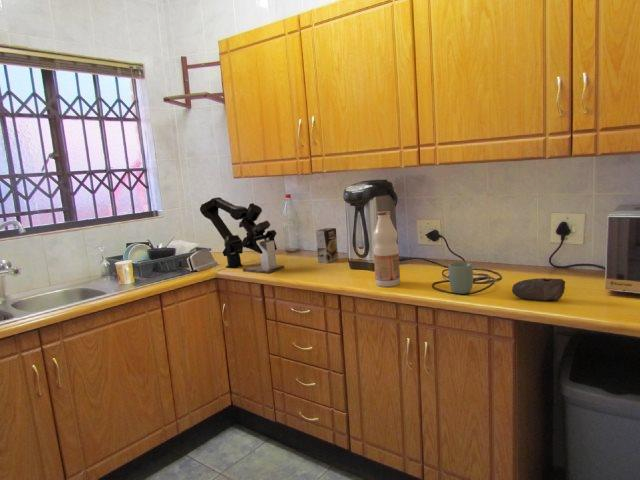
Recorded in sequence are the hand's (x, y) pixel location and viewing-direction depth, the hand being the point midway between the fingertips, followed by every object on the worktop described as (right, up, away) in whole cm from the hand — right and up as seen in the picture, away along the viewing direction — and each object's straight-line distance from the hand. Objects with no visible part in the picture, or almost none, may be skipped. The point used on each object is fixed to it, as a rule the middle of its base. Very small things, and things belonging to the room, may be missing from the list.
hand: (269, 251), depth 211 cm
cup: (+73, -13, -57) cm, 93 cm away
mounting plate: (-3, -9, +6) cm, 11 cm away
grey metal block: (-37, -10, +22) cm, 44 cm away
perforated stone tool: (+92, -14, -70) cm, 117 cm away
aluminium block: (0, -8, +2) cm, 8 cm away
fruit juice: (+50, -12, -38) cm, 64 cm away
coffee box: (+28, -5, +14) cm, 32 cm away
